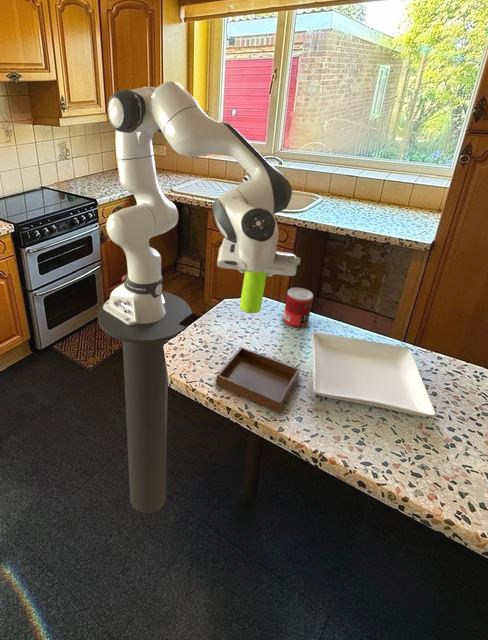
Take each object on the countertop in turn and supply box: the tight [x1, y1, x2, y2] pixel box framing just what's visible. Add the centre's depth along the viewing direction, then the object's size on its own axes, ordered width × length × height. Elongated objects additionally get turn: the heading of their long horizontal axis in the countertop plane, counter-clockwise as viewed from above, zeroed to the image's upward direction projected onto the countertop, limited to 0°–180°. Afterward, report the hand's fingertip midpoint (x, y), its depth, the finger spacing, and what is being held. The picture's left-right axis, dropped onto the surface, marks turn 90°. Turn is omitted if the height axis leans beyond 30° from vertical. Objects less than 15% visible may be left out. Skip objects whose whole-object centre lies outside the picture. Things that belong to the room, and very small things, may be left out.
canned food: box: [283, 287, 314, 329], centre depth 131 cm, size 8×8×11 cm
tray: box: [215, 346, 301, 414], centre depth 107 cm, size 17×15×3 cm
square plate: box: [310, 331, 437, 418], centre depth 108 cm, size 27×27×4 cm
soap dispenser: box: [239, 271, 268, 314], centre depth 109 cm, size 6×7×20 cm
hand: (255, 272), depth 109 cm, fingers closed on soap dispenser, 6 cm apart
